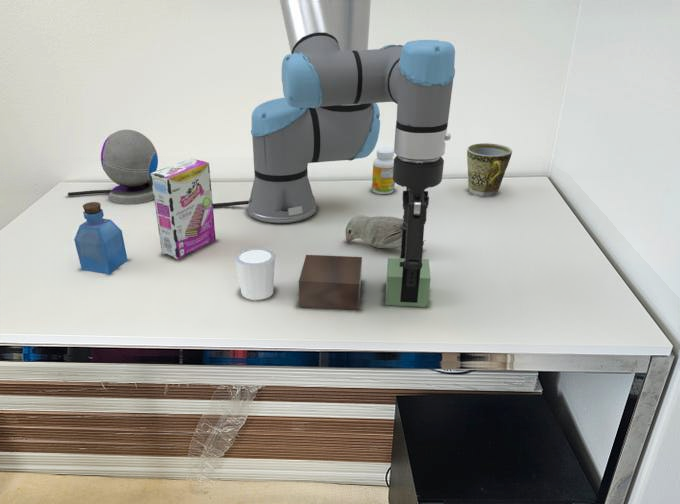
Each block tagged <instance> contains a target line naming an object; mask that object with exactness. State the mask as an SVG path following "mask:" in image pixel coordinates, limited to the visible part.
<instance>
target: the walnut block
mask: <svg viewBox="0 0 680 504" xmlns="http://www.w3.org/2000/svg"><path fill="white" fill-rule="evenodd" d="M362 268H363V257H362V256H349V255H348V256H347V255H346V256H345V255H323V254H322V255H321V254H317V255H316V254H305V256H304V261H303V263H302V267H301V272H300V275H299V278H298V306H299V308H309V309H310V308H311V309H312V308H314V309H329V310H330V309H331V310H332V309H333V310H351V311H358V310H359V306H360V296H361V286H362V271H363V269H362Z"/></svg>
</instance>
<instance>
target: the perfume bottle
mask: <svg viewBox="0 0 680 504" xmlns="http://www.w3.org/2000/svg"><path fill="white" fill-rule="evenodd" d="M101 206H102V205H101V203H100V202H98V201H90V202H86V203H84V204H83V205H82V208H83V210H84V211H83V212H82V214H83V218H84V219H85V220H86V221H84V222H83V223H82V224H80V225H79V227H78V229H77V231H76V234H75V236H74V238H73V239H74V240H73V241H74V244H75V249H76V252H77V257H78V261H79V264H80V265H79V266H80V268H81V271H85V272H93V273H97V274H98V273H99V274H105V275H111V274H113V272H115V271H116V270H117V269H119V268H120V267H121V266H122V265H124V264H125V263H127V261H129V260H128V255H127V250H126V249H127V248H126V245H125V239H124V235H123V230H122V229H121V228H120V227H119V226H118V225H117V224H116V223H115V222H114V221H113V220H112V219H108V218H104V216H105V214H104V210H103V209H102V208H101Z"/></svg>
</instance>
